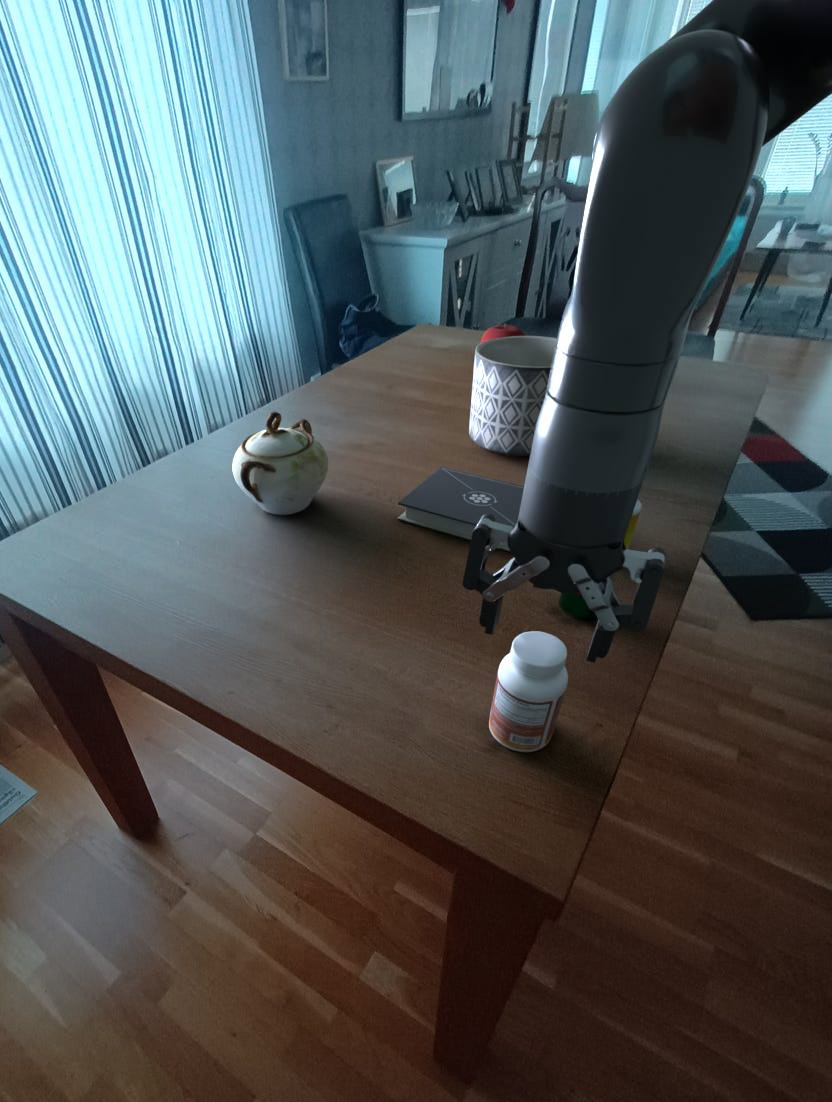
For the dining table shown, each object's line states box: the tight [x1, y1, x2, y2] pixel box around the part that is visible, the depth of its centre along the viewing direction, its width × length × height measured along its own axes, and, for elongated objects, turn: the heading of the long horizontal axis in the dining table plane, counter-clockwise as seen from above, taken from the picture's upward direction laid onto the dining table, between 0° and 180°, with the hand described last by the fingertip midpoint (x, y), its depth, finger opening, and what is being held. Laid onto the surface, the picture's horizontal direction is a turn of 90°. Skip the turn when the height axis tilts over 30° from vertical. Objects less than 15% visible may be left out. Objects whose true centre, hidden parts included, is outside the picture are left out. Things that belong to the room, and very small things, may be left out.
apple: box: [479, 322, 526, 344], centre depth 136 cm, size 11×11×12 cm
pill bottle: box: [488, 630, 569, 753], centre depth 54 cm, size 6×6×11 cm
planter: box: [468, 335, 557, 457], centre depth 104 cm, size 19×19×16 cm
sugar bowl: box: [231, 410, 329, 516], centre depth 90 cm, size 20×15×15 cm
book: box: [397, 466, 524, 554], centre depth 88 cm, size 22×15×3 cm
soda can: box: [558, 538, 625, 620], centre depth 68 cm, size 5×5×12 cm
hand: (540, 642), depth 50 cm, fingers open, 8 cm apart
